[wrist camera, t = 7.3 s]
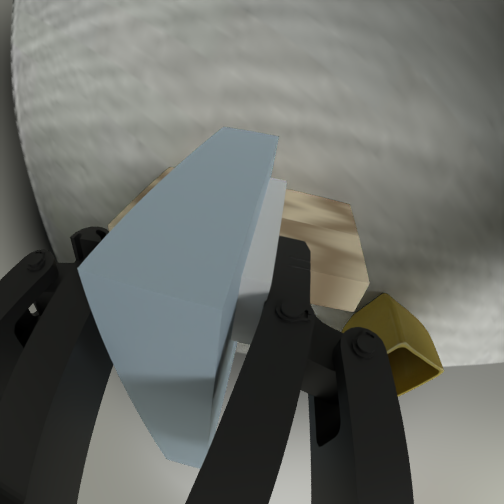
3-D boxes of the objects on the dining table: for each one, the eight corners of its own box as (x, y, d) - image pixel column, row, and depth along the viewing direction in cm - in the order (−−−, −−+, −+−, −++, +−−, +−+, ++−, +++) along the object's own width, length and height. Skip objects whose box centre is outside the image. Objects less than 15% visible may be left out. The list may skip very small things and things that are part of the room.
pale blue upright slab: (223, 126, 12) (77, 268, 4) (279, 136, 12) (222, 309, 4) (204, 340, 22) (166, 459, 14) (236, 348, 22) (205, 470, 14)
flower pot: (327, 316, 32) (327, 384, 25) (385, 271, 27) (403, 342, 20) (373, 344, 34) (379, 405, 27) (427, 308, 29) (445, 372, 22)
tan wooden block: (169, 191, 26) (113, 256, 18) (169, 167, 24) (108, 225, 16) (341, 228, 25) (353, 312, 17) (349, 204, 24) (369, 283, 16)
